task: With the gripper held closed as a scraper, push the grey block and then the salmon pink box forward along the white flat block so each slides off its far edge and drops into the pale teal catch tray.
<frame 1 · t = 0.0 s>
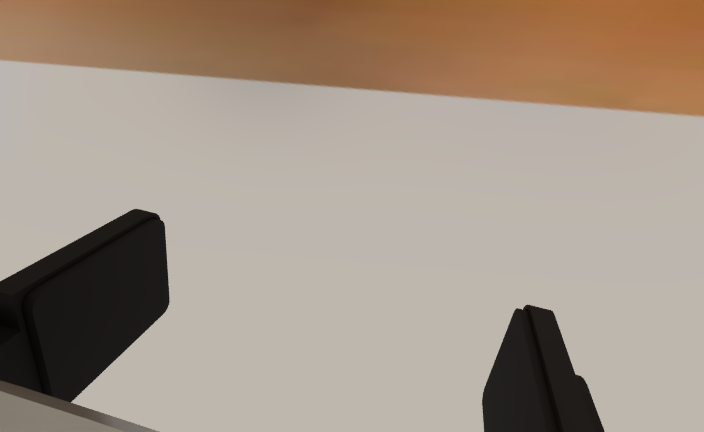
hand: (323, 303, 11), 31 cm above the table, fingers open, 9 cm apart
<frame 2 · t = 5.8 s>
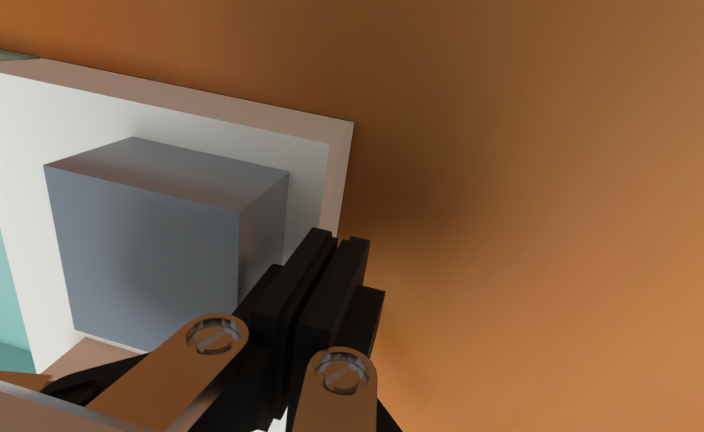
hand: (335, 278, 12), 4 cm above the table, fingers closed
white flat block: (194, 275, 18), on the table
salmon pink box: (144, 398, 17), point 3 cm above the table, touching white flat block
grey block: (209, 228, 13), point 3 cm above the table, touching gripper
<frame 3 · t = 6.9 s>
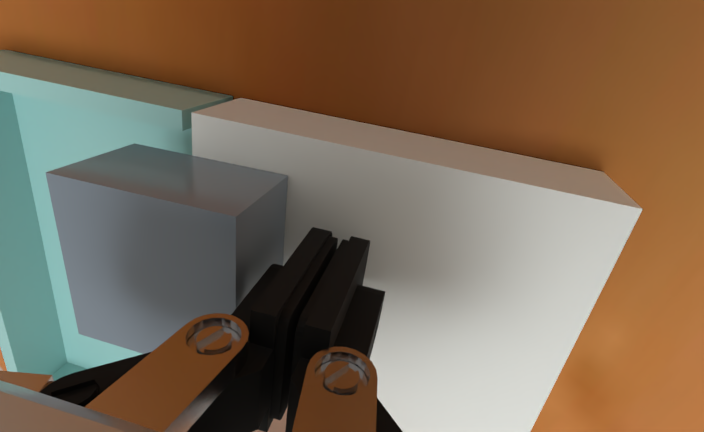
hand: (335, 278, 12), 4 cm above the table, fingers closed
white flat block: (369, 322, 17), on the table
catch tray: (132, 257, 19), on the table
grey block: (210, 233, 13), point 3 cm above the table, touching white flat block, gripper
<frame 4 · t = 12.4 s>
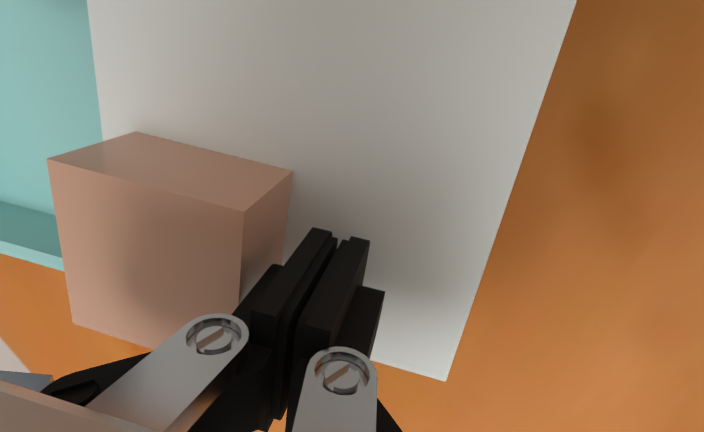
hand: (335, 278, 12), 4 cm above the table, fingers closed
white flat block: (325, 84, 13), on the table
salmon pink box: (210, 225, 13), point 3 cm above the table, touching gripper
catch tray: (38, 29, 15), on the table
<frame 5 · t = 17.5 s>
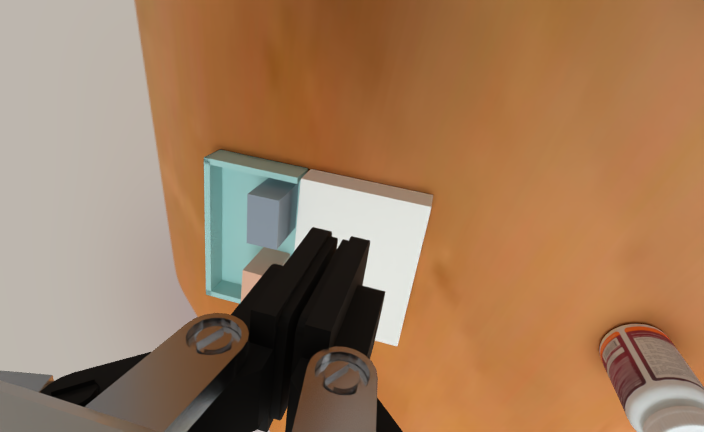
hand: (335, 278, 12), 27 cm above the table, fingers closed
white flat block: (358, 253, 43), on the table
salmon pink box: (279, 285, 43), point 3 cm above the table, tilted 90°, touching catch tray
pill bottle: (632, 345, 40), on the table
catch tray: (259, 229, 44), on the table
grey block: (288, 215, 39), point 3 cm above the table, tilted 90°, touching catch tray
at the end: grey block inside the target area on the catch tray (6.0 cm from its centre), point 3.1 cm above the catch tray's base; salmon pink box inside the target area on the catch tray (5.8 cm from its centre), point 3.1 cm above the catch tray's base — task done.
